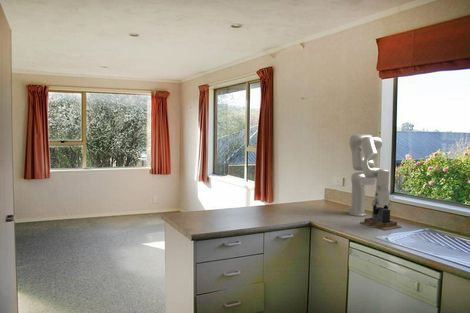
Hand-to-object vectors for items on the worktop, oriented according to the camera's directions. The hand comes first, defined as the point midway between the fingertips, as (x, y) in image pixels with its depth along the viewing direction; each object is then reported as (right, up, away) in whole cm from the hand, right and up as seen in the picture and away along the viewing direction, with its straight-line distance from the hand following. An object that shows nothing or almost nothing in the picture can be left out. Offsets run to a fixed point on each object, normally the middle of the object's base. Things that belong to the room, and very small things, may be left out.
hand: (380, 213), depth 252 cm
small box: (0, -7, 0) cm, 7 cm away
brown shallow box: (0, -8, 0) cm, 8 cm away
